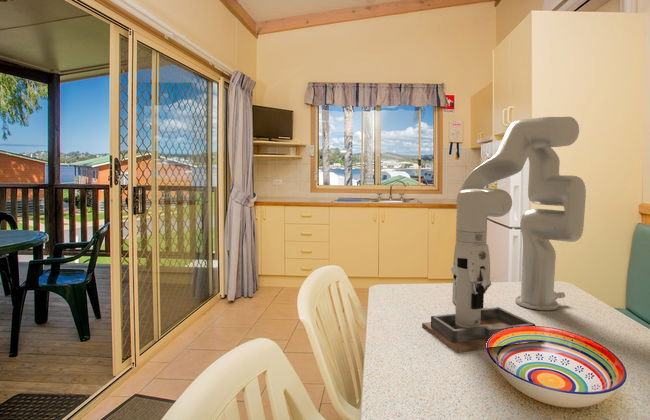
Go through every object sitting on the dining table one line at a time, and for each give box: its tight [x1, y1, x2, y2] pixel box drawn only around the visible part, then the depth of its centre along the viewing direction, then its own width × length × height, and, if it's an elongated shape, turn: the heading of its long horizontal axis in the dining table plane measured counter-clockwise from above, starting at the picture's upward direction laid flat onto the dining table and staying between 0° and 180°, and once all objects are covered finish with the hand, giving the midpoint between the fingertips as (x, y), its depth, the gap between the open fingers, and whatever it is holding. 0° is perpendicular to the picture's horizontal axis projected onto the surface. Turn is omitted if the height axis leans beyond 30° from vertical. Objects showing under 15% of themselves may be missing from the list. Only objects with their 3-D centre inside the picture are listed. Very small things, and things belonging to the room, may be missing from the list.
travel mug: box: [455, 258, 482, 329], centre depth 105 cm, size 6×7×20 cm
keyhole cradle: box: [421, 306, 536, 353], centre depth 107 cm, size 25×17×4 cm
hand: (468, 303), depth 105 cm, fingers closed on travel mug, 6 cm apart
